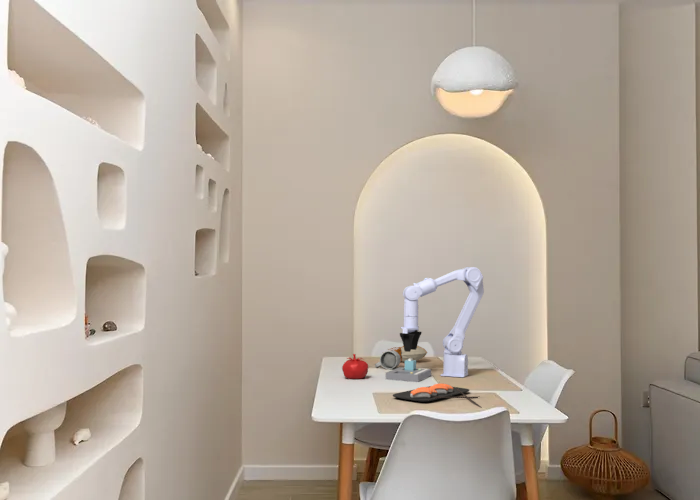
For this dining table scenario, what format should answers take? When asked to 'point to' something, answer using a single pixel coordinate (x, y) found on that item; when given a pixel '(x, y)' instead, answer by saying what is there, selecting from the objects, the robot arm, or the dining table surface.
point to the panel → (408, 374)
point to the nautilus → (410, 353)
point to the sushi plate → (433, 393)
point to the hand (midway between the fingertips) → (410, 350)
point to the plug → (410, 364)
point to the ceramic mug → (389, 360)
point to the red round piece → (355, 368)
